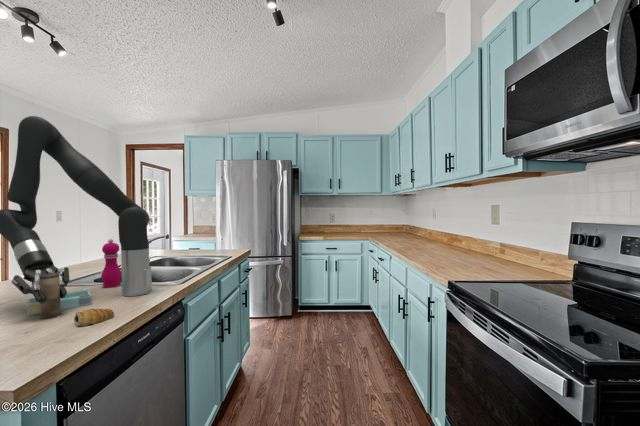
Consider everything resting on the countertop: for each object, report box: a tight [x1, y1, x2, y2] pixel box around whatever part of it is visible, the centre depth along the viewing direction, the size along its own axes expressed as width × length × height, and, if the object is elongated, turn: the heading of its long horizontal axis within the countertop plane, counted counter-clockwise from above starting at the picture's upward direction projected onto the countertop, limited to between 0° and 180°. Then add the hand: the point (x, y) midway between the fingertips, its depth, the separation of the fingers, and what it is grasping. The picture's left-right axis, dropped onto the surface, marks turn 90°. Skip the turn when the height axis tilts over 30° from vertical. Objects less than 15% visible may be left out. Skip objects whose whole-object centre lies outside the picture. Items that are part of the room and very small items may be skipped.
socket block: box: [26, 289, 92, 317], centre depth 102 cm, size 16×10×3 cm, turn 132°
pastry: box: [73, 308, 115, 327], centre depth 89 cm, size 9×7×4 cm
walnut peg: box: [39, 273, 62, 320], centre depth 93 cm, size 5×5×13 cm
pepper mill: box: [100, 238, 122, 289], centre depth 128 cm, size 7×7×20 cm
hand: (53, 298), depth 92 cm, fingers closed on walnut peg, 4 cm apart
